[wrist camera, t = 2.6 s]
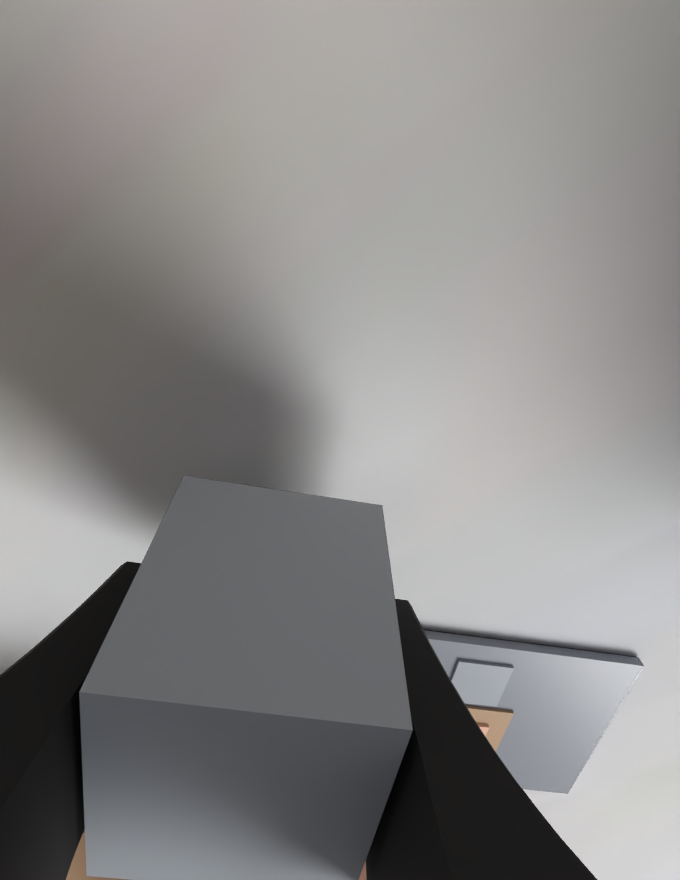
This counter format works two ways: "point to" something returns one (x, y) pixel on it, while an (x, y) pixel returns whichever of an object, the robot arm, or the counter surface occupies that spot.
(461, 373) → the counter surface
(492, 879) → the robot arm
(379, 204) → the counter surface
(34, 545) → the counter surface
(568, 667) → the tile
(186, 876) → the grey block
